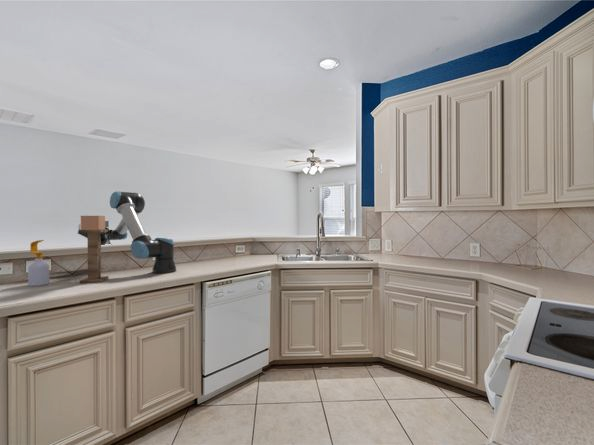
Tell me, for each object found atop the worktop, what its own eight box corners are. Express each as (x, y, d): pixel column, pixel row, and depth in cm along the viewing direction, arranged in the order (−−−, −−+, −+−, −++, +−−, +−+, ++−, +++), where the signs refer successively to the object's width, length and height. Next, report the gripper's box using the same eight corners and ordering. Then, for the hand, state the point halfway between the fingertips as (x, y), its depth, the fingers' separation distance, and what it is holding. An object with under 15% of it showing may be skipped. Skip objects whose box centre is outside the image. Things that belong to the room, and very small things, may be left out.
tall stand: (88, 279, 191) (87, 229, 190) (108, 278, 193) (108, 229, 193) (79, 283, 179) (78, 230, 179) (101, 282, 181) (100, 229, 181)
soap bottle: (40, 286, 172) (40, 240, 171) (23, 286, 172) (23, 240, 172) (53, 282, 181) (53, 239, 180) (37, 282, 181) (37, 239, 181)
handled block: (97, 228, 202) (97, 216, 202) (112, 228, 204) (112, 216, 204) (80, 229, 179) (80, 215, 179) (98, 229, 181) (98, 215, 181)
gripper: (119, 244, 228) (111, 230, 210) (80, 245, 222) (68, 231, 204) (121, 235, 231) (113, 221, 213) (82, 236, 225) (70, 221, 207)
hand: (91, 226), depth 209 cm, fingers open, 13 cm apart
